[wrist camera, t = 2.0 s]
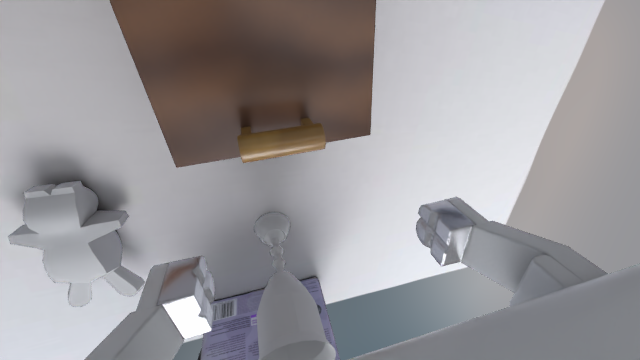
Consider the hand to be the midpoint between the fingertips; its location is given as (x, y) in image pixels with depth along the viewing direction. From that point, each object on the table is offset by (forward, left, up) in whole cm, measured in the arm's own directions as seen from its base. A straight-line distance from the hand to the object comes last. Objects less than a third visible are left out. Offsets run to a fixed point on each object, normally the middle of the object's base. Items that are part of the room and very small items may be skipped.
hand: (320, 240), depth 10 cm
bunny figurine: (-22, -13, -22) cm, 34 cm away
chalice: (-2, -18, -22) cm, 29 cm away
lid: (0, +5, -13) cm, 14 cm away
